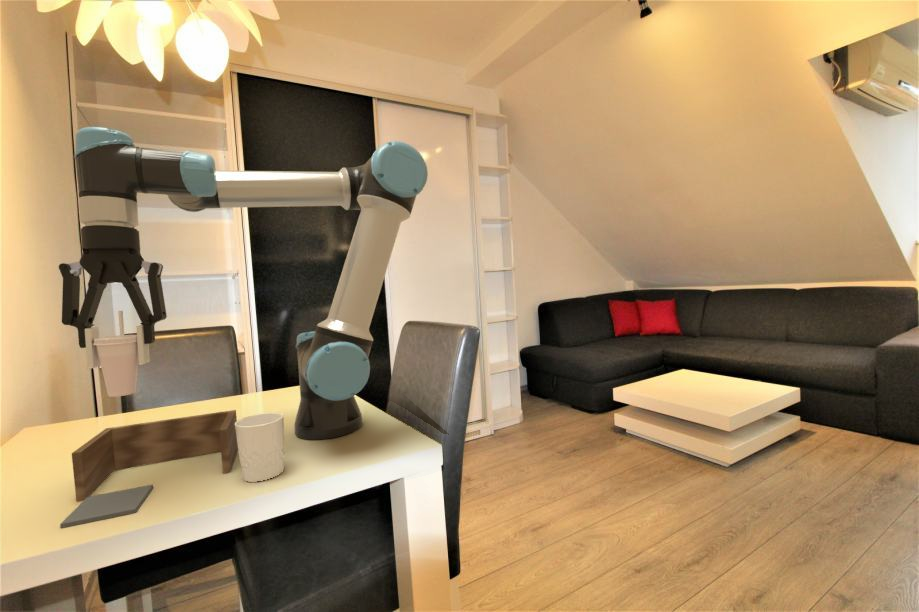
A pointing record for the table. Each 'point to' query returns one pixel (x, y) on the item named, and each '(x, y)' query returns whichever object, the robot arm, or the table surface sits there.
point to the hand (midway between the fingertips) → (119, 364)
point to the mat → (108, 506)
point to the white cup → (261, 446)
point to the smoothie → (119, 361)
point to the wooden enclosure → (153, 446)
